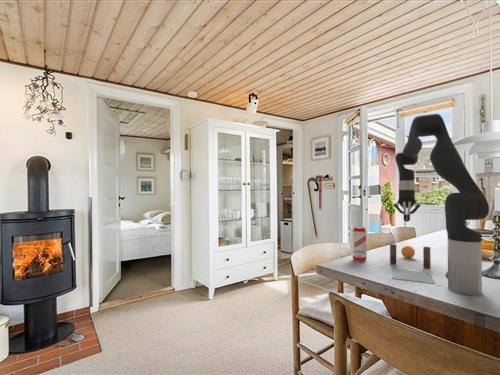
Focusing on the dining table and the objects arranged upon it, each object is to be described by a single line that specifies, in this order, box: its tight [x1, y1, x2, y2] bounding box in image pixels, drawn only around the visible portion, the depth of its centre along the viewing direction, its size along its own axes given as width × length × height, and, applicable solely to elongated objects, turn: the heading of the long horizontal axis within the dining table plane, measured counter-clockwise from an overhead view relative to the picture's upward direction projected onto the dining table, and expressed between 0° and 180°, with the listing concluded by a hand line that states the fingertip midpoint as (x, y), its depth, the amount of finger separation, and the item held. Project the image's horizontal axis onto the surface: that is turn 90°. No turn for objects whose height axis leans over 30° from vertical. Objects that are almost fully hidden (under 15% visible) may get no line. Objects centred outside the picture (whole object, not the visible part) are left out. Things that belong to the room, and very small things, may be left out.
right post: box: [422, 246, 431, 270], centre depth 122 cm, size 3×3×9 cm
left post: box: [389, 243, 397, 266], centre depth 128 cm, size 3×3×9 cm
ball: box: [400, 245, 416, 259], centre depth 139 cm, size 6×6×6 cm
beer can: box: [352, 226, 368, 263], centre depth 134 cm, size 6×6×16 cm
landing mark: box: [391, 268, 436, 285], centre depth 110 cm, size 14×14×1 cm
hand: (406, 221), depth 149 cm, fingers closed
